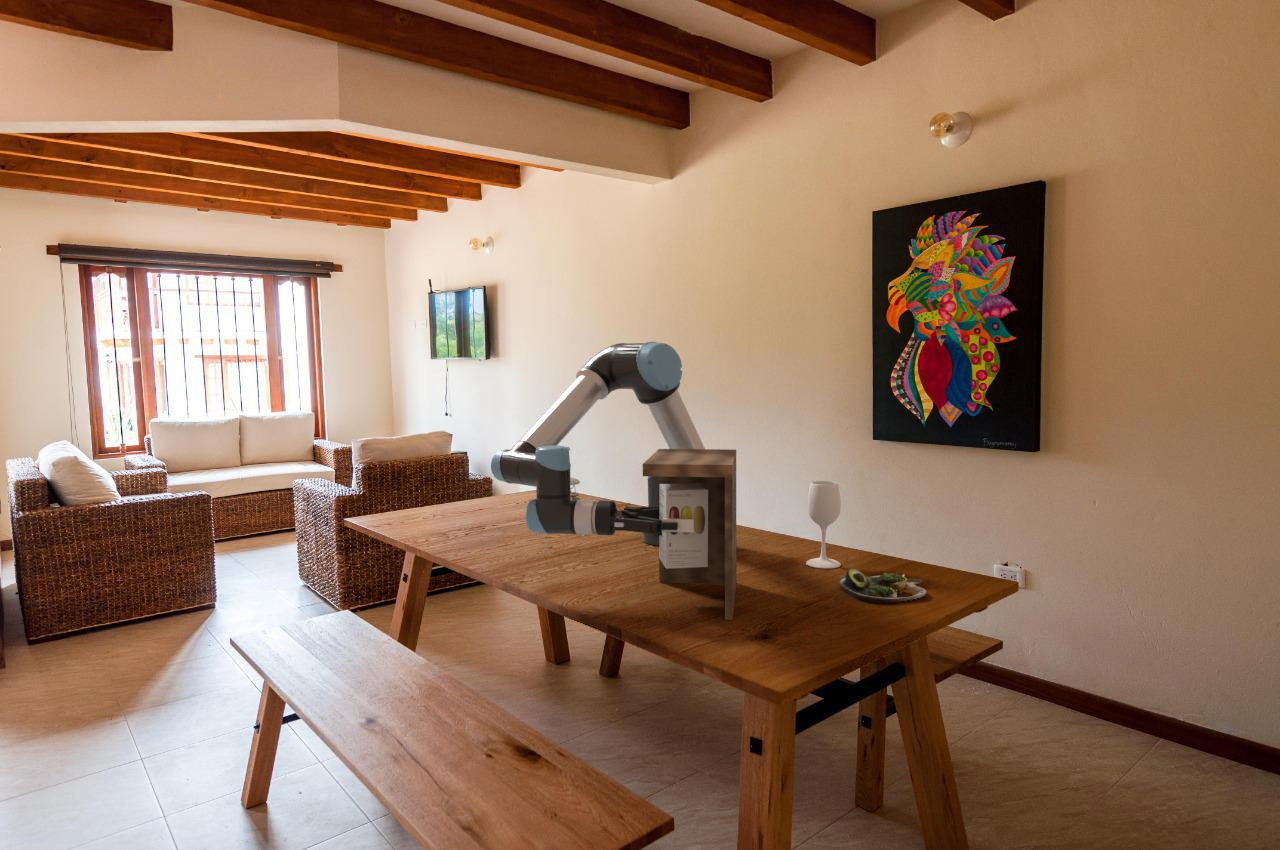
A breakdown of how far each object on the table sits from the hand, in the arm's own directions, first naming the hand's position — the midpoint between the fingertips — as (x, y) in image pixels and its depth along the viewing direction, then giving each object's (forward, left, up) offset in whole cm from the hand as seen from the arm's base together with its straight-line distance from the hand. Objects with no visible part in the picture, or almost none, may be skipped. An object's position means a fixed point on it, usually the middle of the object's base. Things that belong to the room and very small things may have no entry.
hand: (696, 519), depth 168 cm
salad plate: (-39, +14, -19) cm, 46 cm away
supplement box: (+2, -2, -10) cm, 10 cm away
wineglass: (-43, -10, -18) cm, 48 cm away
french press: (-4, -88, -18) cm, 90 cm away
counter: (0, -2, -18) cm, 18 cm away
